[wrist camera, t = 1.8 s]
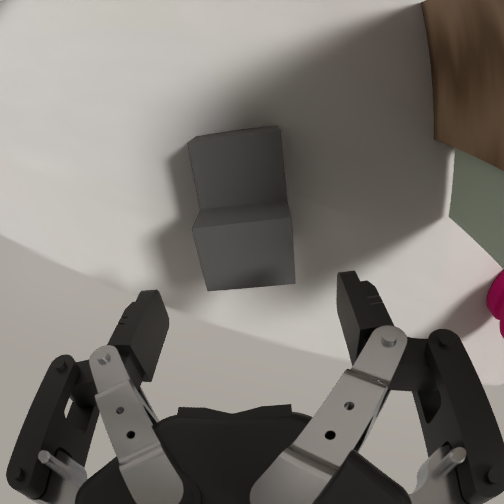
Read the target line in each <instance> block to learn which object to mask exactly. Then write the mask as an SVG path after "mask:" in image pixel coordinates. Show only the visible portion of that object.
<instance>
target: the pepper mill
mask: <svg viewBox="0 0 504 504" xmlns="http://www.w3.org/2000/svg"><path fill="white" fill-rule="evenodd" d="M487 307H488V309H489V310H490V312H491V313H492V314H493V316H494V317H495V318H496V319H498V320H500V333H501V335H502V337H503V338H504V271H503V272H502V273H501V274H500V275H499V276H498V277H497V278H496V280H495V281H494V283H493V284H492V286H491V288H490V290H489V293H488V297H487Z"/></svg>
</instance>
